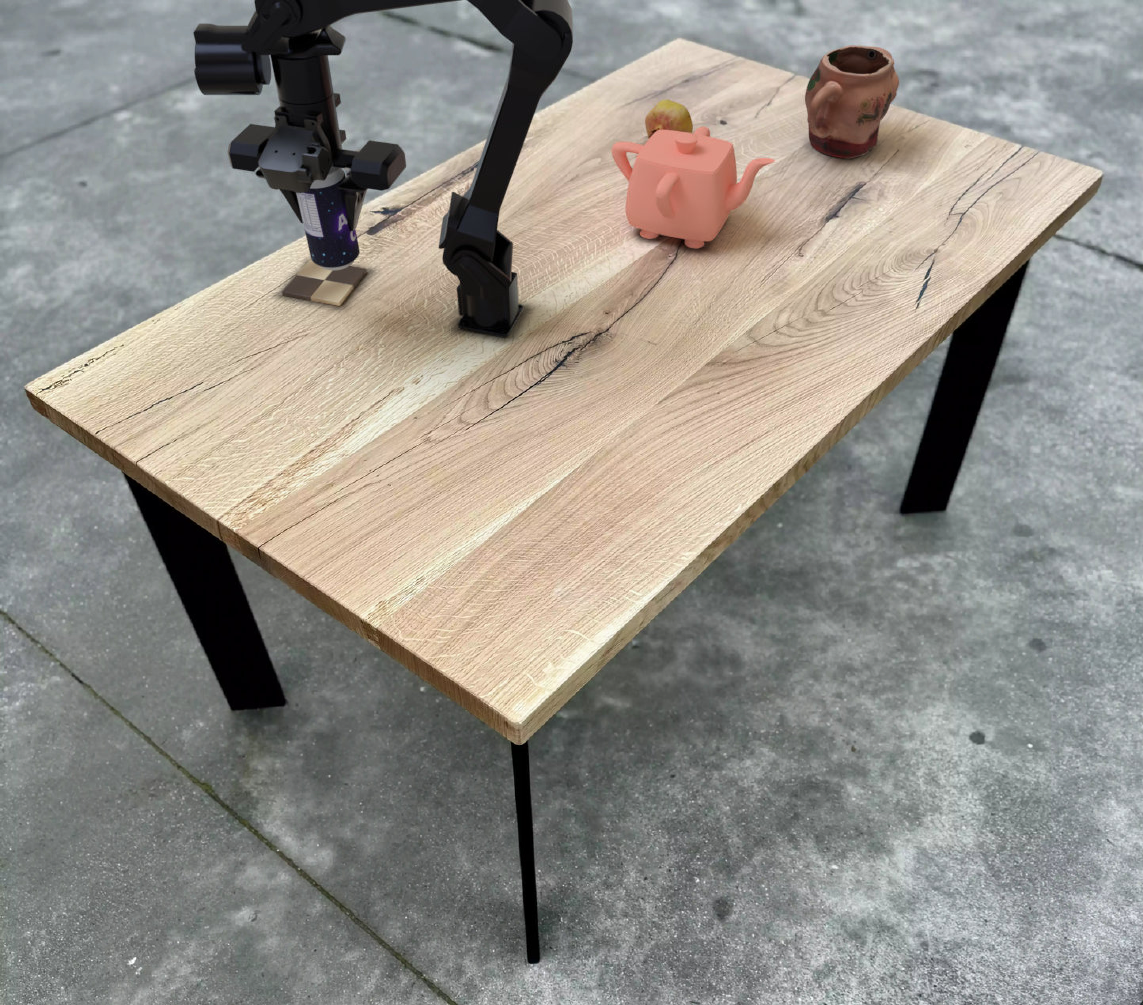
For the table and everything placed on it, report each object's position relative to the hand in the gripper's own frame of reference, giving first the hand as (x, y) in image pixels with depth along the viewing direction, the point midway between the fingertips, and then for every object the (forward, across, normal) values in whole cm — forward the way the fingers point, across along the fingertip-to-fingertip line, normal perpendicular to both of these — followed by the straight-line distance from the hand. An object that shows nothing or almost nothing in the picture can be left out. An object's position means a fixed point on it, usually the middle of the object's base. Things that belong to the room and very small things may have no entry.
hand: (328, 225), depth 125 cm
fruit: (+13, +29, +56) cm, 64 cm away
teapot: (+13, +36, +32) cm, 50 cm away
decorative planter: (+13, +54, +61) cm, 82 cm away
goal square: (+13, -6, +7) cm, 16 cm away
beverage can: (+5, 0, 0) cm, 5 cm away
